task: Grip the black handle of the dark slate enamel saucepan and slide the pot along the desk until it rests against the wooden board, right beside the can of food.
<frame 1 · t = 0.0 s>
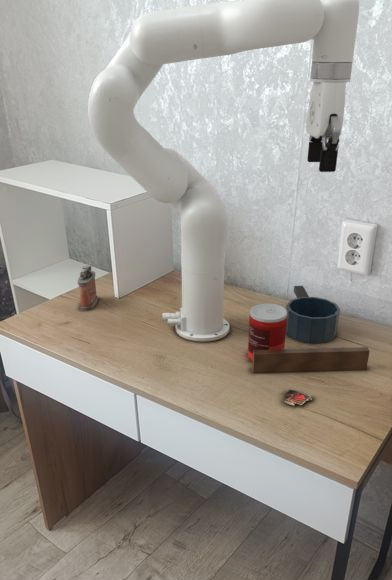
hand: (320, 166, 114), 37 cm above the table, tool pointing down, fingers open, 9 cm apart
canned food: (265, 358, 119), on the table
lighter: (89, 304, 143), on the table
wooden board: (309, 369, 115), on the table
saucepan: (310, 331, 130), on the table
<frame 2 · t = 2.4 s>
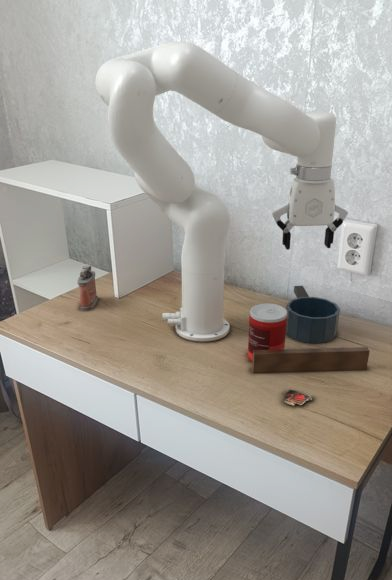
hand: (307, 247, 132), 16 cm above the table, tool pointing down, fingers open, 9 cm apart
nothing on the table moved.
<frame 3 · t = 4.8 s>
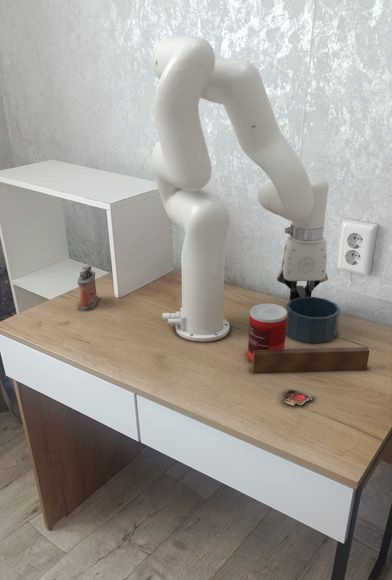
hand: (299, 303, 139), 2 cm above the table, tool pointing down, fingers closed on saucepan
saucepan: (310, 331, 130), on the table, touching gripper
everything else where it was.
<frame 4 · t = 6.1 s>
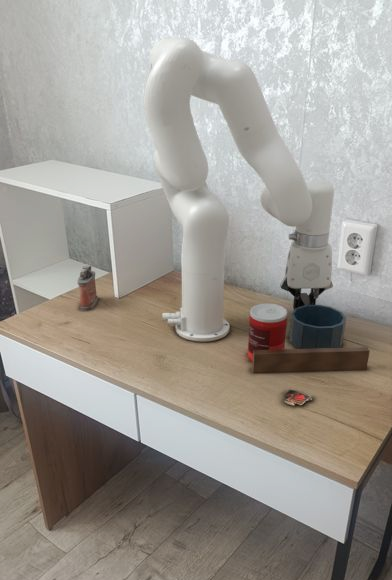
hand: (303, 311, 135), 2 cm above the table, tool pointing down, fingers closed on saucepan
saucepan: (315, 340, 126), on the table, touching gripper
everything else where it was.
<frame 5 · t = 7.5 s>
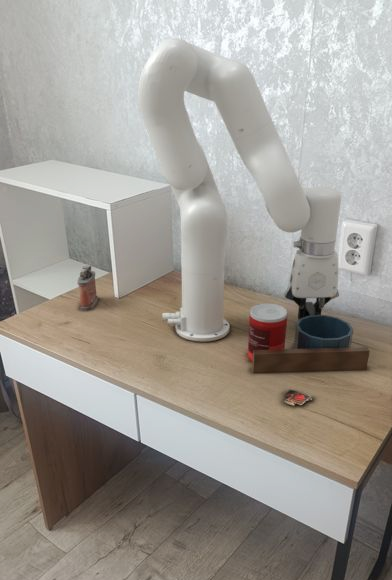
hand: (308, 321, 131), 2 cm above the table, tool pointing down, fingers closed on saucepan
saucepan: (321, 352, 121), on the table, touching gripper
everything else where it was.
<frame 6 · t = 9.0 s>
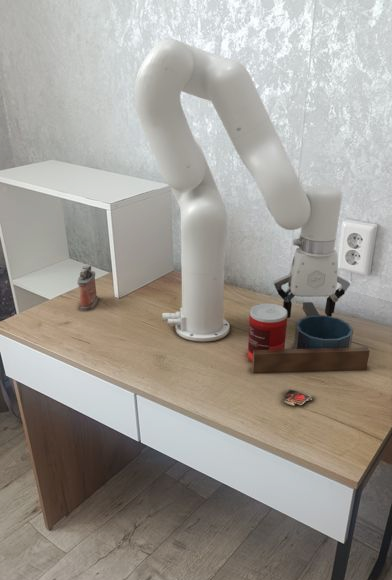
hand: (307, 315, 130), 3 cm above the table, tool pointing down, fingers open, 9 cm apart
saucepan: (321, 352, 121), on the table
everything else where it was.
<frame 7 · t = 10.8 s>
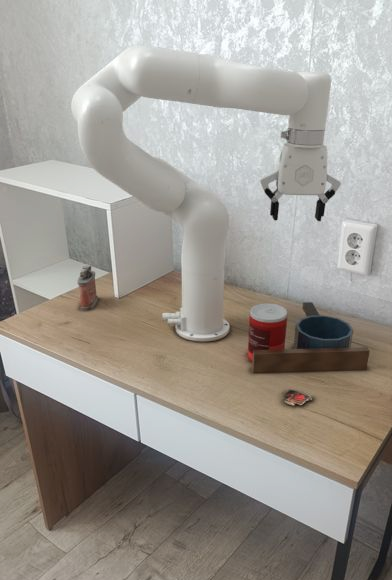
hand: (296, 219, 124), 24 cm above the table, tool pointing down, fingers open, 9 cm apart
nothing on the table moved.
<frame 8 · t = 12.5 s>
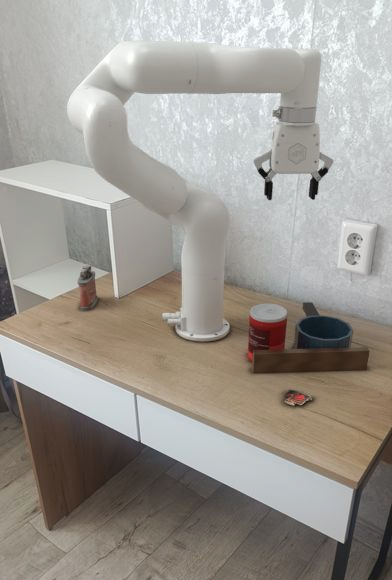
hand: (290, 198, 125), 28 cm above the table, tool pointing down, fingers open, 9 cm apart
nothing on the table moved.
at the end: saucepan 0.1 cm from the target spot, on the table; saucepan 12.5 cm from the canned food (horizontally); canned food moved 0.2 cm from its start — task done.
